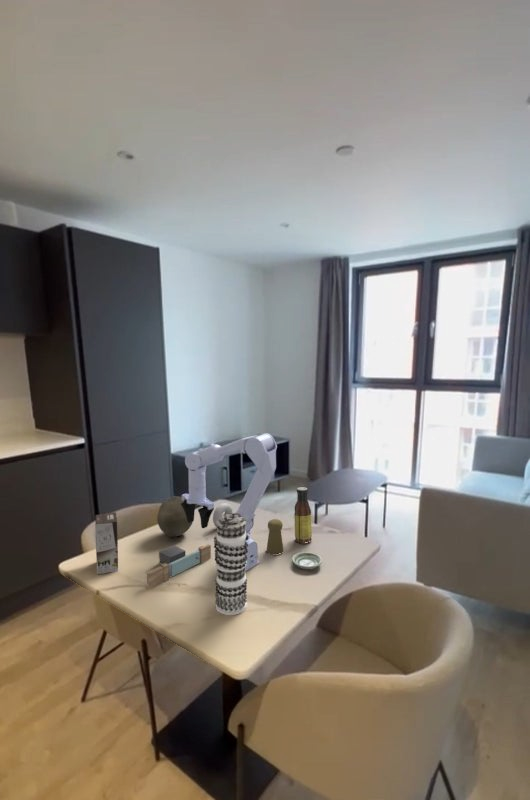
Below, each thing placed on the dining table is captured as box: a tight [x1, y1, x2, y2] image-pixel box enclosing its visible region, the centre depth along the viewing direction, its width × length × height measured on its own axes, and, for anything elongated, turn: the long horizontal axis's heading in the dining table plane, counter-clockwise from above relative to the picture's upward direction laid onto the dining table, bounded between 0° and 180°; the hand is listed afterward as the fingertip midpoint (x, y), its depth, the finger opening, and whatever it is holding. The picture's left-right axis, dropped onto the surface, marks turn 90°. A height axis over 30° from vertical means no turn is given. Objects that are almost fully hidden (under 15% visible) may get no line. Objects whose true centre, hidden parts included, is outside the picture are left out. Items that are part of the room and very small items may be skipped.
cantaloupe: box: [156, 496, 194, 537], centre depth 146 cm, size 14×14×15 cm
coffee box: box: [94, 511, 119, 575], centre depth 124 cm, size 9×6×16 cm
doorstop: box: [158, 545, 186, 565], centre depth 127 cm, size 6×6×4 cm
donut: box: [212, 502, 234, 528], centre depth 154 cm, size 10×4×10 cm, turn 141°
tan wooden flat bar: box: [146, 543, 212, 590], centre depth 121 cm, size 2×24×5 cm, turn 141°
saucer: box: [291, 551, 323, 570], centre depth 126 cm, size 10×10×2 cm
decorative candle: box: [213, 512, 249, 616], centre depth 103 cm, size 9×9×25 cm
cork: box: [266, 518, 284, 555], centre depth 135 cm, size 6×6×11 cm
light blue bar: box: [168, 550, 201, 579], centre depth 122 cm, size 2×12×4 cm, turn 141°
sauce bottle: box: [293, 486, 313, 544], centre depth 143 cm, size 7×6×20 cm
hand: (197, 524), depth 133 cm, fingers open, 7 cm apart
